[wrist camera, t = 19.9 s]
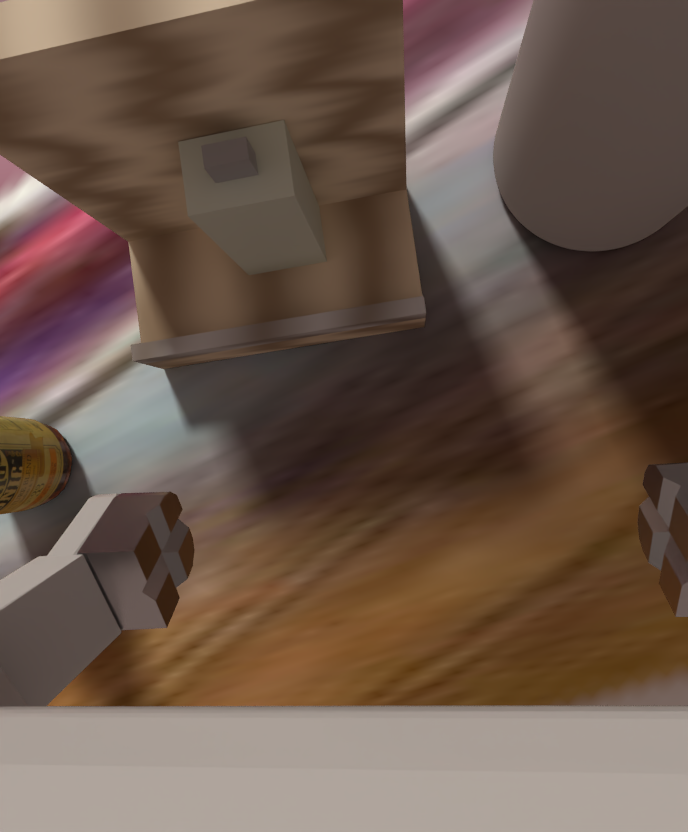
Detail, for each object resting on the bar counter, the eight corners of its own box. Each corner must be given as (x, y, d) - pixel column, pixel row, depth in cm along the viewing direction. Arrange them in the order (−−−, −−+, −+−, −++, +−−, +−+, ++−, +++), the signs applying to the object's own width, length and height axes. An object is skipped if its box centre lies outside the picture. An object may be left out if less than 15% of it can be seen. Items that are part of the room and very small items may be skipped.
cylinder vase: (451, 157, 38) (525, -357, 13) (598, 22, 37) (970, -794, 12) (583, 295, 37) (937, 12, 12) (738, 159, 36) (1461, -445, 11)
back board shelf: (402, 178, 38) (392, -94, 19) (424, 326, 38) (438, 210, 18) (145, 227, 40) (-111, 29, 21) (163, 369, 40) (-81, 305, 20)
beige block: (319, 206, 36) (276, 100, 25) (326, 261, 36) (287, 180, 24) (241, 221, 37) (164, 124, 25) (248, 275, 36) (174, 203, 25)
